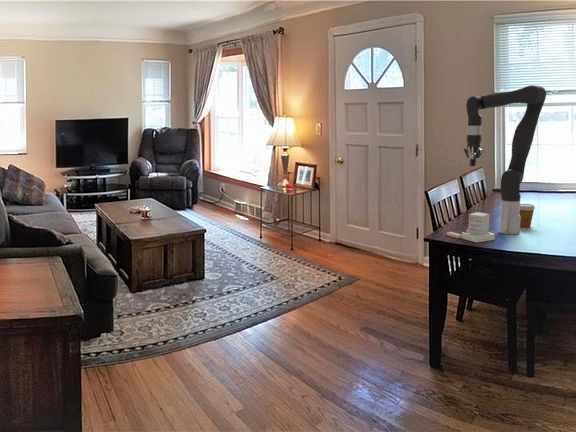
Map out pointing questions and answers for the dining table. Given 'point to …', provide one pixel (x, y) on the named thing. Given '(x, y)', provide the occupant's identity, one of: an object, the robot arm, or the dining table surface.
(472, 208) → the dining table surface
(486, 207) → the dining table surface
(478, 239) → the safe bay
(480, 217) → the supplement box
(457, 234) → the trap left
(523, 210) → the disposable coffee cup
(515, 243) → the dining table surface
